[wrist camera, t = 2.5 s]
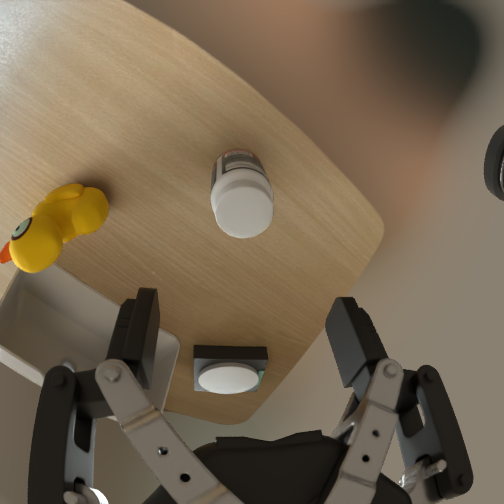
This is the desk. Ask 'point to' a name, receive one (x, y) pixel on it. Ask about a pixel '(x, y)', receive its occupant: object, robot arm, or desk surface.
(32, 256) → the duckling
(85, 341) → the tank
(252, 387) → the scale
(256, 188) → the pill bottle
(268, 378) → the desk surface
